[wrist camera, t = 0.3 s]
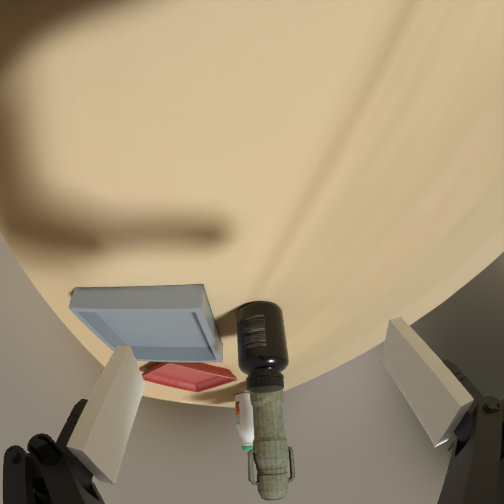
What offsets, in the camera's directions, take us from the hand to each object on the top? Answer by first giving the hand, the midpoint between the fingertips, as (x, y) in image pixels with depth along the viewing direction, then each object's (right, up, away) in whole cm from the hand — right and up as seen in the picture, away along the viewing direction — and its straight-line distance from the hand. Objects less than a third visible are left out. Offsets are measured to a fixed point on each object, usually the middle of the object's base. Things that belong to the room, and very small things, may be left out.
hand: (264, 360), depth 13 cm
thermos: (+3, -30, +58) cm, 66 cm away
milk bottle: (-2, -42, +72) cm, 83 cm away
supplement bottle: (0, -3, +28) cm, 29 cm away
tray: (-16, -6, +30) cm, 34 cm away
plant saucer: (-16, -23, +50) cm, 57 cm away
